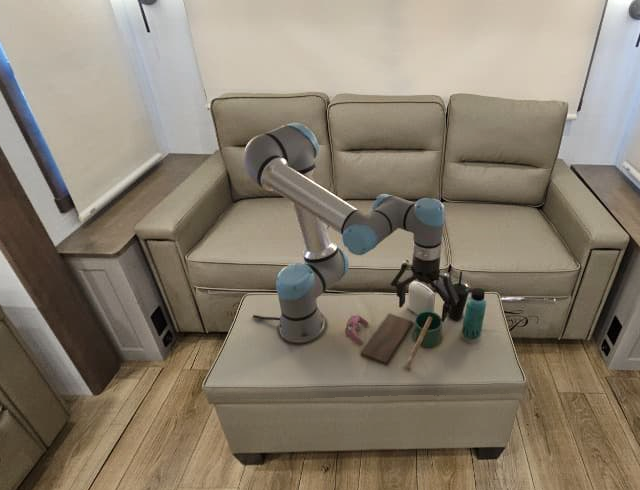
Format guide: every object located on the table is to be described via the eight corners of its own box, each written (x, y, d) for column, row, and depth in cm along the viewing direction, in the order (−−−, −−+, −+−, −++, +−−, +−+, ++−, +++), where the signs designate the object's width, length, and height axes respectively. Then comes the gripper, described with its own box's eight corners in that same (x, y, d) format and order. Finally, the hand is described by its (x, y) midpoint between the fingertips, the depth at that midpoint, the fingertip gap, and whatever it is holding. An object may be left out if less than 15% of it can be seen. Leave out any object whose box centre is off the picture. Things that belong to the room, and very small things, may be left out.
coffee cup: (409, 341, 141) (410, 325, 136) (420, 324, 148) (421, 308, 143) (434, 351, 138) (436, 334, 133) (444, 332, 144) (446, 316, 140)
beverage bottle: (458, 339, 142) (464, 294, 130) (464, 326, 147) (471, 282, 135) (477, 346, 140) (485, 301, 128) (482, 332, 145) (491, 288, 133)
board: (361, 354, 136) (361, 352, 135) (389, 315, 151) (389, 313, 150) (386, 364, 133) (386, 362, 132) (412, 323, 148) (412, 321, 147)
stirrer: (411, 340, 142) (403, 369, 131) (429, 314, 135) (422, 342, 124) (415, 342, 142) (407, 371, 131) (433, 316, 135) (427, 344, 124)
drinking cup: (465, 324, 148) (472, 280, 136) (443, 321, 149) (448, 277, 137) (466, 310, 154) (473, 266, 142) (445, 306, 155) (450, 263, 143)
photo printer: (406, 308, 154) (407, 281, 147) (414, 302, 156) (415, 276, 149) (427, 322, 148) (429, 296, 141) (435, 316, 151) (437, 290, 143)
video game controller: (359, 325, 148) (349, 311, 145) (370, 323, 147) (360, 308, 143) (350, 346, 141) (340, 331, 137) (362, 344, 139) (352, 329, 136)
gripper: (379, 249, 115) (379, 306, 128) (466, 274, 107) (458, 333, 120) (391, 235, 121) (390, 291, 133) (475, 259, 113) (466, 316, 125)
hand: (422, 311), depth 127 cm, fingers open, 13 cm apart
